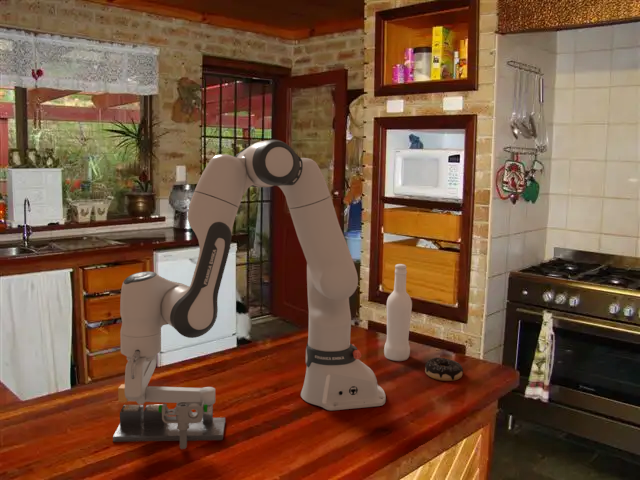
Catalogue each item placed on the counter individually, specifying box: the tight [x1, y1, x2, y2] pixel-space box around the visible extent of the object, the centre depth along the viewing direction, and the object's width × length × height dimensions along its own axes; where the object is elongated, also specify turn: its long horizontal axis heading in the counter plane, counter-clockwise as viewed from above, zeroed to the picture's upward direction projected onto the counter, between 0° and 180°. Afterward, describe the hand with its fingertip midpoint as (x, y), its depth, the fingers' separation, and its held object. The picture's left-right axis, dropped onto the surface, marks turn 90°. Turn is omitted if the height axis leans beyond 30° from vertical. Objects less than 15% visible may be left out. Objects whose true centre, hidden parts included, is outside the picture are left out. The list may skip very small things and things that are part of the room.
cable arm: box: [117, 383, 216, 405], centre depth 145 cm, size 22×4×3 cm, turn 89°
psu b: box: [119, 404, 145, 426], centre depth 144 cm, size 5×4×4 cm
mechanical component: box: [158, 401, 208, 450], centre depth 135 cm, size 3×10×10 cm, turn 95°
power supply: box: [143, 403, 165, 426], centre depth 144 cm, size 5×4×4 cm
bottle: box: [383, 263, 413, 362], centre depth 195 cm, size 8×8×30 cm
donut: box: [424, 357, 464, 382], centre depth 183 cm, size 11×12×4 cm
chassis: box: [112, 404, 226, 443], centre depth 142 cm, size 24×9×6 cm, turn 95°
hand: (141, 401), depth 143 cm, fingers closed
